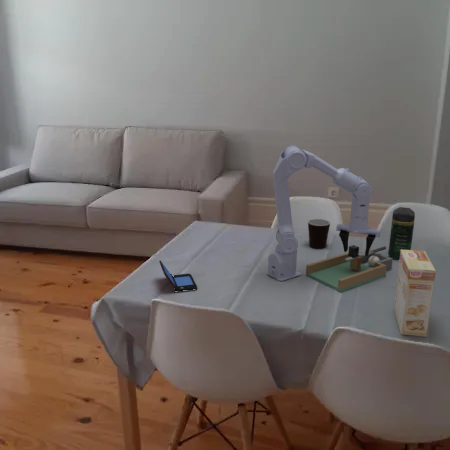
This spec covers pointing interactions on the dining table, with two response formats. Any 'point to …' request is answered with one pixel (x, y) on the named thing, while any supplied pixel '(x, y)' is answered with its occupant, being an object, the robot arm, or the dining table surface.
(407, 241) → the coffee jar
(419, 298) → the coffeecake box
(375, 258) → the ball
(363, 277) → the pitch
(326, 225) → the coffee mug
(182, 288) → the handheld game console
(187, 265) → the dining table surface
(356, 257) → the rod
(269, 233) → the dining table surface
